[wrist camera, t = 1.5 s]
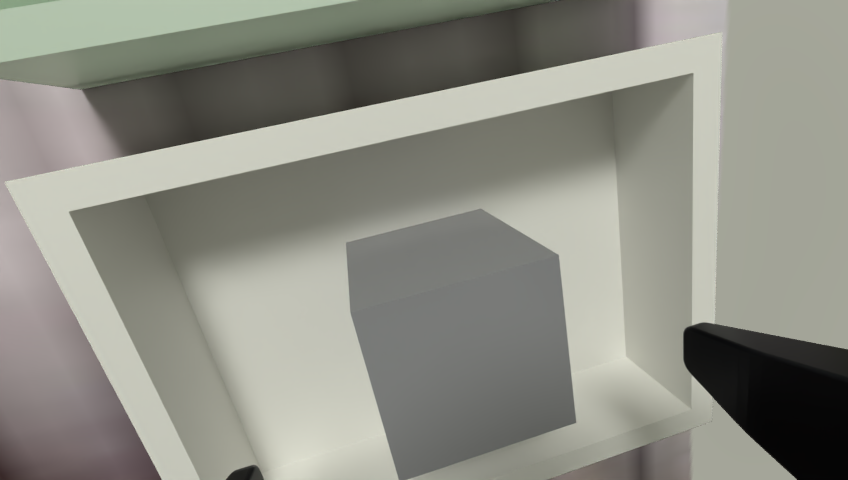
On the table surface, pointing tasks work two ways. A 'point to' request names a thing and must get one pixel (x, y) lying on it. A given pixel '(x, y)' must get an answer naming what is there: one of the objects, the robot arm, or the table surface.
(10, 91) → the table surface
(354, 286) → the stone block
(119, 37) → the green bin
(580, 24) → the table surface
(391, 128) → the cream bin
